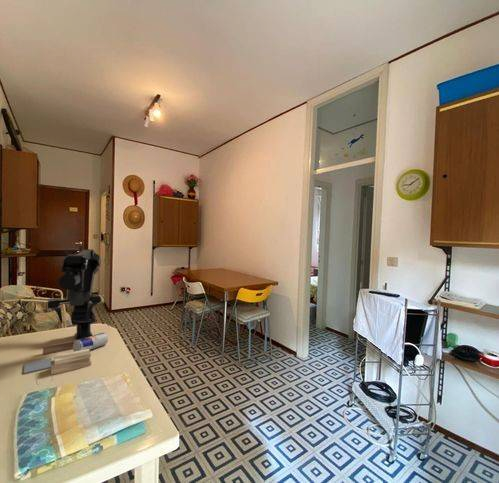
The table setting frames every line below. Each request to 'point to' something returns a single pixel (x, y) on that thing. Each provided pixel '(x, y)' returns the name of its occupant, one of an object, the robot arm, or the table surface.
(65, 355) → the offcut stack
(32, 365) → the slate pad
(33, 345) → the table surface
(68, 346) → the walnut back board
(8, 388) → the table surface
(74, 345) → the energy drink
